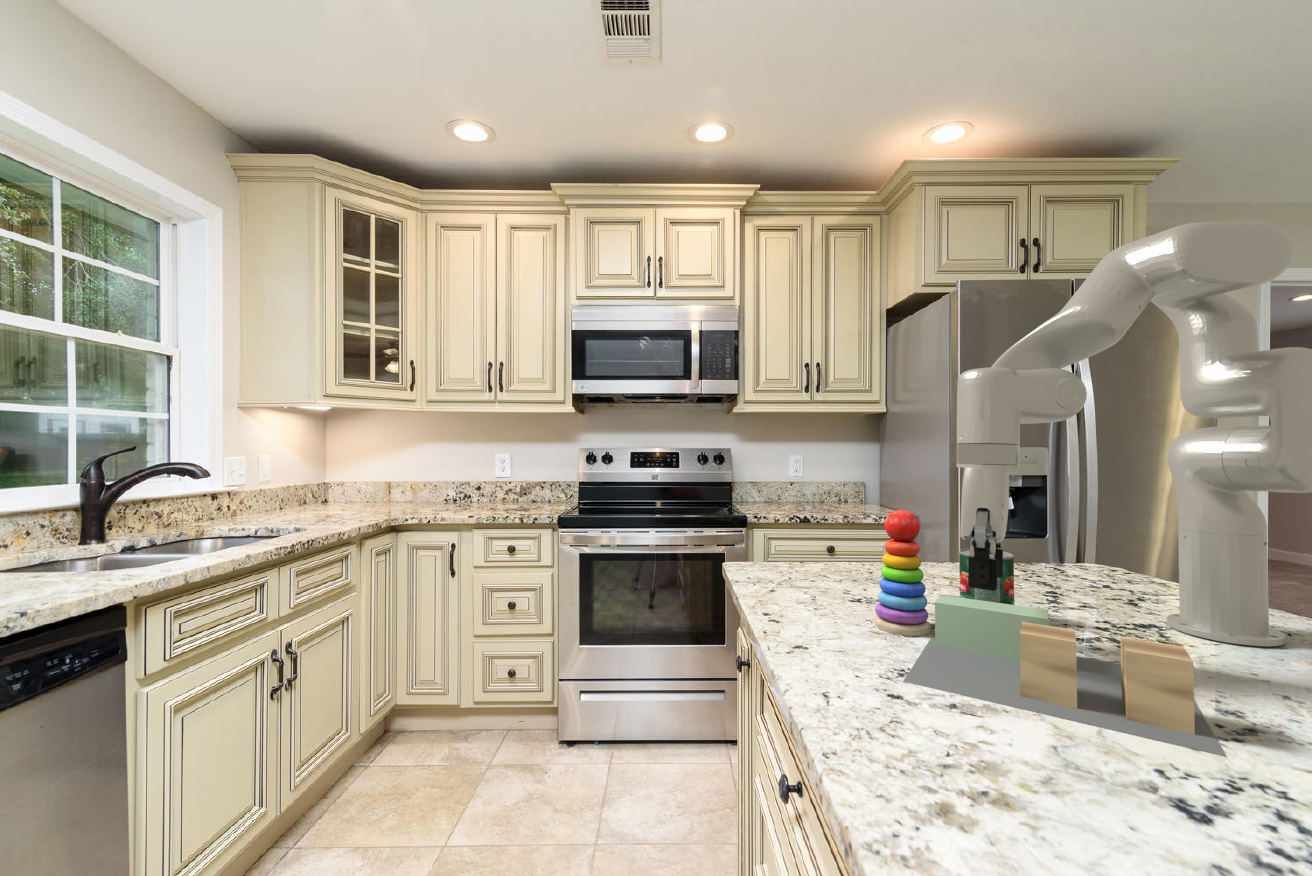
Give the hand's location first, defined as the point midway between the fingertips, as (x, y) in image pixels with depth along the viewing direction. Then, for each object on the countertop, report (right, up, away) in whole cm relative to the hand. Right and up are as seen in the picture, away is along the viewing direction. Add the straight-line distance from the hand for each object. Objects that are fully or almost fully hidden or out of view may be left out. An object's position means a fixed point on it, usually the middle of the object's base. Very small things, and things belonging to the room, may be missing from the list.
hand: (986, 582), depth 75 cm
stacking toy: (-7, -10, +9) cm, 16 cm away
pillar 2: (+6, -9, -19) cm, 22 cm away
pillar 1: (-1, -9, -14) cm, 16 cm away
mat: (+1, -10, -9) cm, 14 cm away
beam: (+1, -9, 0) cm, 9 cm away
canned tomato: (+10, -11, +16) cm, 21 cm away
